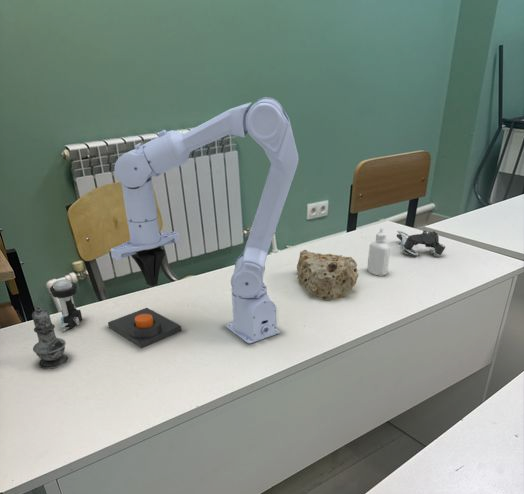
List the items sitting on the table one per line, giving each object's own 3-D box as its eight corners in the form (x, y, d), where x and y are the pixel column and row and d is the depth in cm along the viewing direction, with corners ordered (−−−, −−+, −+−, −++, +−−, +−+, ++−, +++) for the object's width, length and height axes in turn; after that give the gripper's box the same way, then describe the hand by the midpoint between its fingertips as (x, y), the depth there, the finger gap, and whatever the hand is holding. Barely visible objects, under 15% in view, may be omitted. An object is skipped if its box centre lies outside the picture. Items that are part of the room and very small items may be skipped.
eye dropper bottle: (381, 268, 131) (386, 225, 125) (388, 276, 127) (394, 231, 120) (365, 269, 131) (370, 226, 125) (372, 277, 126) (377, 232, 120)
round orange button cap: (156, 324, 99) (155, 317, 98) (142, 330, 97) (140, 323, 96) (147, 319, 101) (146, 311, 101) (132, 325, 99) (131, 317, 98)
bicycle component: (394, 233, 150) (397, 251, 138) (406, 213, 146) (410, 229, 134) (428, 249, 151) (434, 268, 138) (441, 229, 147) (448, 246, 134)
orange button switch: (181, 331, 102) (180, 318, 101) (141, 348, 96) (139, 335, 95) (147, 312, 110) (145, 300, 109) (108, 327, 104) (106, 314, 103)
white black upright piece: (74, 334, 102) (63, 291, 97) (51, 332, 103) (39, 289, 98) (89, 319, 108) (79, 278, 103) (67, 318, 109) (57, 277, 104)
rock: (287, 275, 130) (295, 239, 126) (336, 283, 133) (346, 248, 130) (304, 299, 112) (315, 257, 108) (361, 308, 115) (373, 267, 111)
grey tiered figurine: (37, 357, 94) (20, 302, 88) (68, 350, 96) (54, 296, 90) (37, 372, 90) (20, 315, 83) (70, 365, 92) (55, 309, 85)
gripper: (161, 207, 98) (169, 269, 105) (97, 222, 90) (110, 289, 97) (182, 213, 94) (189, 277, 101) (117, 230, 85) (129, 299, 92)
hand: (152, 284), depth 98 cm, fingers closed
